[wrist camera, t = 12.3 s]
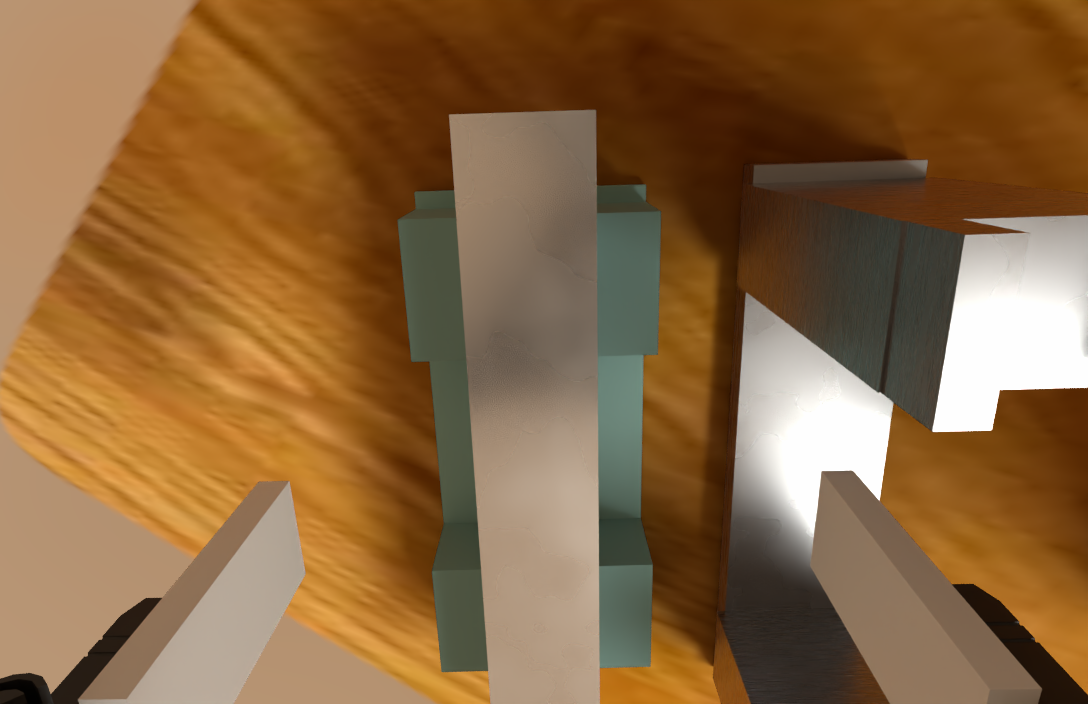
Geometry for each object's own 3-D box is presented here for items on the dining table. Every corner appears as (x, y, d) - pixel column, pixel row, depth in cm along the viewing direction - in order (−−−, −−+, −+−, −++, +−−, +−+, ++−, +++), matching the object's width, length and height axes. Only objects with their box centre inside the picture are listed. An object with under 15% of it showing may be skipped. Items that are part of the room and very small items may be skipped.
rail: (467, 118, 17) (448, 114, 14) (585, 115, 17) (596, 109, 14) (505, 728, 23) (499, 829, 20) (591, 726, 23) (600, 826, 20)
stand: (733, 164, 20) (967, 197, 9) (919, 158, 20) (1380, 185, 9) (705, 668, 26) (826, 1060, 15) (849, 664, 26) (1076, 1054, 15)
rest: (416, 191, 20) (395, 200, 17) (644, 184, 20) (661, 192, 17) (453, 622, 25) (442, 683, 22) (637, 617, 25) (649, 678, 22)
